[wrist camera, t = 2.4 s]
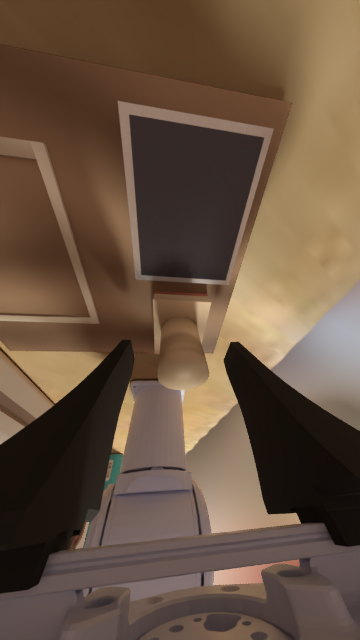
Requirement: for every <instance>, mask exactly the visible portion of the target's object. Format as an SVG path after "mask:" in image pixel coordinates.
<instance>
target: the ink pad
mask: <svg viewBox="0 0 360 640" xmlns="http://www.w3.org/2000/svg"><path fill="white" fill-rule="evenodd" d="M118 109H119V119H120V128H121V138H122V148H123V158H124V168H125V178H126V188H127V198H128V207H129V217H130V227H131V237H132V247H133V257H134V267H135V276H136V279H138V280H154V281H170V282H187V283H203V284H219V285H229V282H230V278H231V275H232V271H233V268H234V265H235V261H236V258H237V254H238V251H239V247H240V244H241V240H242V237H243V234H244V230H245V227H246V223H247V220H248V216H249V213H250V209H251V206H252V202H253V199H254V196H255V192H256V189H257V185H258V182H259V178H260V175H261V171H262V168H263V164H264V161H265V158H266V154H267V151H268V147H269V144H270V140H271V137H272V133H273V130H274V129H273V128H267V127H262V126H256V125H250V124H245V123H239V122H234V121H228V120H222V119H217V118H211V117H206V116H200V115H194V114H189V113H183V112H178V111H172V110H166V109H161V108H155V107H150V106H144V105H138V104H133V103H127V102H122V101H118Z"/></svg>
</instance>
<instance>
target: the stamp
mask: <svg viewBox="0 0 360 640" xmlns="http://www.w3.org/2000/svg"><path fill="white" fill-rule="evenodd" d="M210 306H211V301H210V299H209V297H208V295H207V294H196V293H178V292H159V291H155V293H154V297H153V318H154V348H155V354H159V364H158V375H157V377H158V381H159V382H160V383H161V384H162V385H163V386H165V387H167V388H169V389H173V390H189V389H193V388H196V387H198V386H200V385H202V384H203V383H204V382H205V381H206V380H207V379H208V377H209V370H208V366H207V362H206V358H205V355H204V351H203V347H202V340H203V336H204V332H205V327H206V323H207V319H208V315H209V310H210Z"/></svg>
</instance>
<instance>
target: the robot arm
mask: <svg viewBox="0 0 360 640" xmlns="http://www.w3.org/2000/svg"><path fill="white" fill-rule="evenodd" d="M224 364H225V368H226V372H227V375H228V377H229V380H230V383H231V385H232V388H233V390H234V393H235V395H236V398H237V400H238V403H239V405H240V408H241V411H242V414H243V417H244V421H245V424H246V428H247V432H248V435H249V439H250V443H251V447H252V451H253V455H254V459H255V463H256V468H257V472H258V477H259V481H260V486H261V491H262V497H263V501H264V504H265V506H266V510H267V513H268V514H285V513H297V515H298V517H299V520H300V522H301V524H293V525H284V526H276V527H267V528H258V529H249V530H240V531H232V532H223V533H213V534H211V527H210V521H209V515H208V511H207V506H206V502H205V499H204V496H203V494H202V491H201V489H200V488H199V486H198V484H197V482H196V481H195V480H192V478H191V471H186V459H185V443H184V428H183V412H182V404H183V398H184V393H185V390H173V389H169V388H167V387H165V386H163V385H162V384H161V383H160V382H159V381H132V382H131V388H132V392H133V397H134V402H135V403H134V408H133V412H132V417H131V422H130V427H129V432H128V437H127V441H126V446H125V451H124V456H123V461H122V466H121V470H120V474H118V475H117V479H116V483H115V484H109V485H108V487H107V489H106V490H105V491H104V486H105V480H106V474H107V469H108V464H109V459H110V454H111V449H112V444H113V440H114V435H115V430H116V426H117V422H118V417H119V413H120V410H121V406H122V403H123V400H124V397H125V393H126V390H127V387H128V384H129V381H130V378H131V374H132V370H133V365H134V353H133V347H132V341H131V340H121V341H120V342H119V344H118V345H117V346H116V347H115V348H114V349H113V350H112V352H111V353H110V354H109V355H108V356H107V357H106V358H105V359H104V360H103V361H102V362H101V363H100V364H99V365H98V367H97V368H95V369H94V370H93V371H92V372H91V373H90V374H89V375H88V376H87V377H86V378H85V379H84V380H83V381H82V382H81V383H80V384H79V385H78V386H76V387H75V388H74V389H73V390H72V391H71V392H69V393H68V394H67V395H66V396H65V397H63V398H62V399H61V400H60V401H59V402H57V403H56V404H55V405H54V406H52V407H51V408H50V409H49V410H47V411H46V412H45V413H43V414H42V415H41V416H39V417H38V418H37V419H35V420H34V421H33V422H31V423H30V424H28V425H27V426H26V427H24V428H23V429H22V430H20V431H19V432H17V433H16V434H15V435H13V436H12V437H10V438H9V439H8V440H6V441H5V442H3V443H2V444H0V640H360V431H359V430H356V429H355V428H353V427H352V426H350V425H348V424H347V423H345V422H343V421H342V420H340V419H338V418H337V417H335V416H334V415H332V414H330V413H329V412H327V411H326V410H324V409H322V408H321V407H319V406H318V405H316V404H315V403H313V402H312V401H310V400H309V399H307V398H306V397H305V396H303V395H302V394H300V393H299V392H297V391H296V390H295V389H293V388H292V387H291V386H289V385H288V384H287V383H285V382H284V381H283V380H282V379H280V378H279V377H278V376H277V375H275V374H274V373H273V372H272V371H271V370H269V369H268V368H267V367H266V366H265V365H264V364H263V363H261V362H260V361H259V360H258V359H257V358H256V357H255V356H254V355H253V354H251V353H250V352H249V351H248V350H247V349H246V348H245V347H244V346H243V345H242V344H240V343H239V342H231V343H230V346H229V348H228V351H227V353H226V356H225V358H224ZM103 491H104V492H103ZM91 521H92V522H91ZM84 522H91V525H90V528H89V532H88V535H87V539H86V542H85V546H84V548H80V549H71V550H68V547H69V544H70V541H71V537H72V536H77V535H81V532H82V529H83V526H84ZM297 559H299V561H300V567H297V566H292V565H288V564H275V565H272V566H270V567H268V568H265V569H263V570H262V572H261V575H262V579H263V583H258V584H235V585H213V580H214V571H218V570H224V569H232V568H239V567H246V566H254V565H261V564H268V563H276V562H282V561H290V560H297Z"/></svg>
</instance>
